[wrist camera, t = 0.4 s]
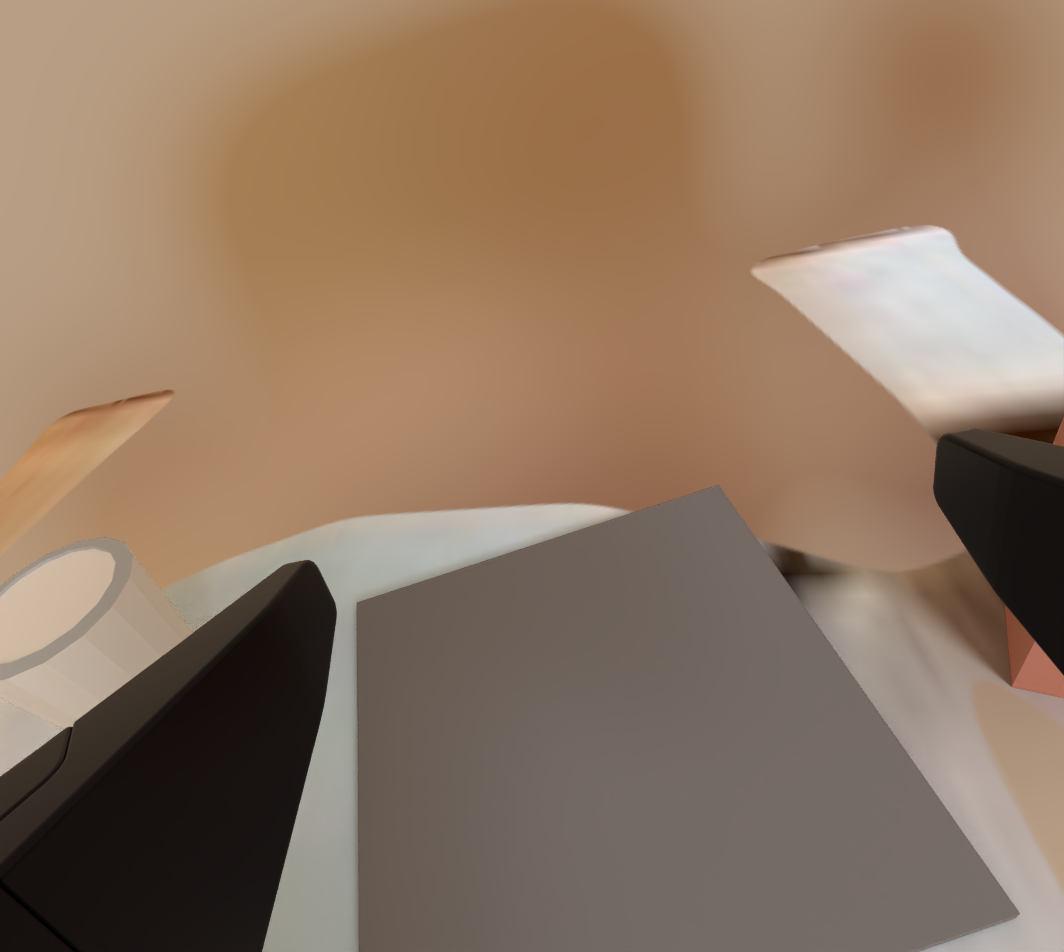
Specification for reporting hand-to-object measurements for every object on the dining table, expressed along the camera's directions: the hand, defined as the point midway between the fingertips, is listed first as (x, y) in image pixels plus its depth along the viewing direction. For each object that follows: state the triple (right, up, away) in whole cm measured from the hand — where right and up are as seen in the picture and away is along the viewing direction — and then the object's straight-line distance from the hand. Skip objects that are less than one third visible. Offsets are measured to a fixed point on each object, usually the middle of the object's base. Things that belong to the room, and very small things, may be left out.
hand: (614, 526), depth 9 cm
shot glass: (-19, -9, +20) cm, 29 cm away
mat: (+1, -8, +14) cm, 17 cm away
